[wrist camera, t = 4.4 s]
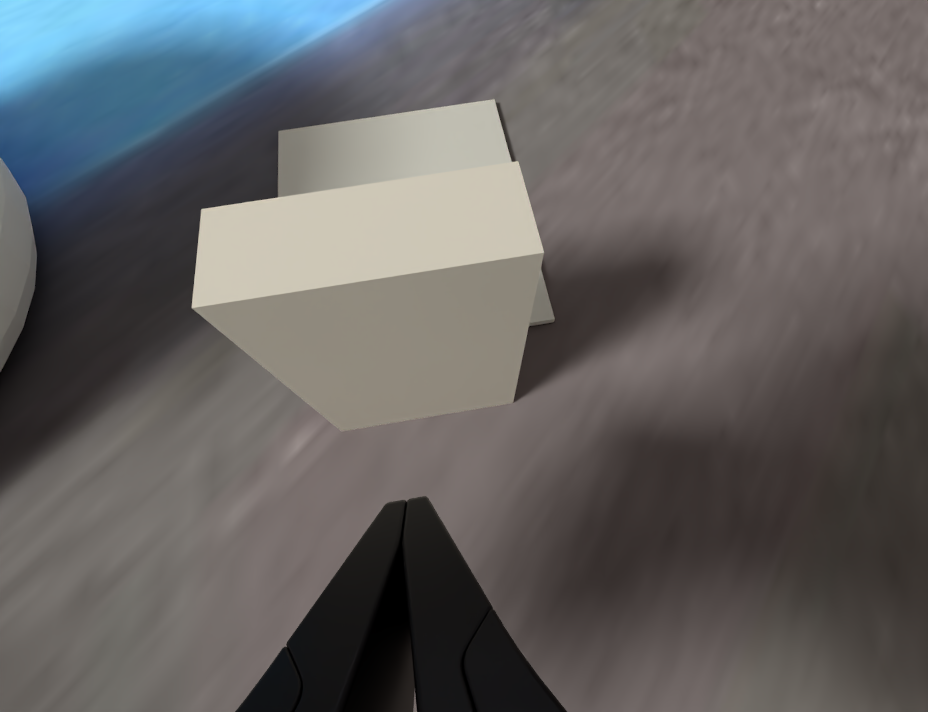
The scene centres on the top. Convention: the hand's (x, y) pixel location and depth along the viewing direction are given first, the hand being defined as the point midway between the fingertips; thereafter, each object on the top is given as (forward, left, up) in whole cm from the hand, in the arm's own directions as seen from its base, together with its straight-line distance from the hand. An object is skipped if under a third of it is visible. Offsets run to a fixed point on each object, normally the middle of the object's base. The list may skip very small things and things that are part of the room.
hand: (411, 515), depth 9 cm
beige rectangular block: (+4, +4, -8) cm, 10 cm away
